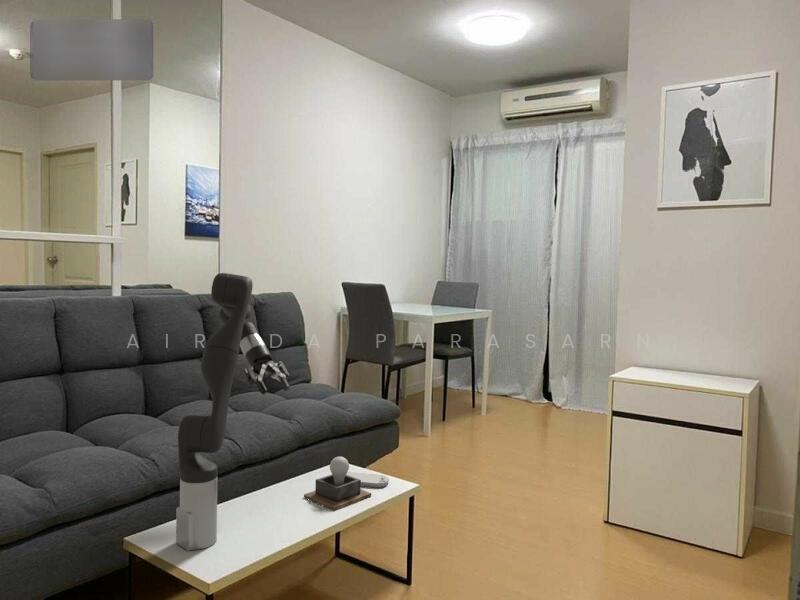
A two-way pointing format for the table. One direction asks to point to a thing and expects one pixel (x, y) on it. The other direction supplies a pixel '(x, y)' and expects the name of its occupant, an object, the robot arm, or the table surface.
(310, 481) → the table surface
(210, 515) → the robot arm
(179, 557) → the table surface
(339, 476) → the lightbulb
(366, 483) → the game console
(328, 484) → the holder
